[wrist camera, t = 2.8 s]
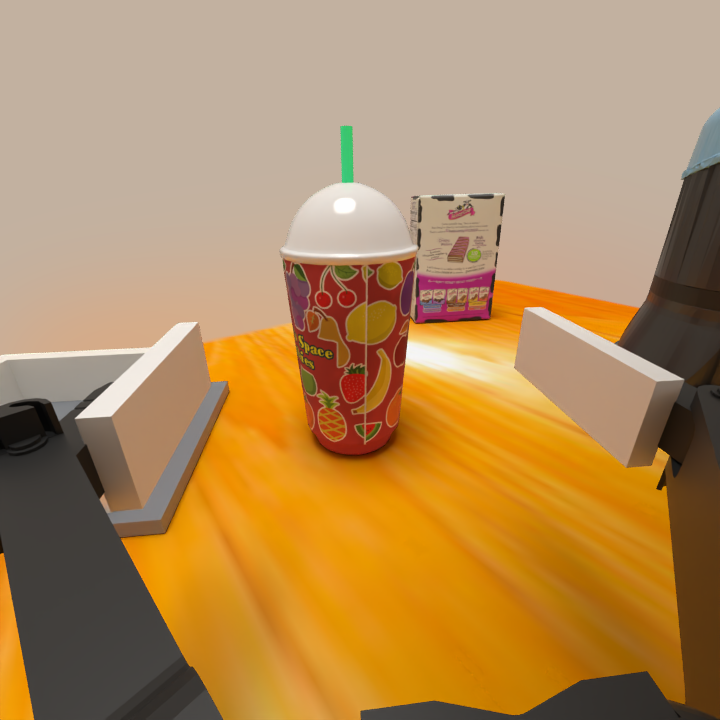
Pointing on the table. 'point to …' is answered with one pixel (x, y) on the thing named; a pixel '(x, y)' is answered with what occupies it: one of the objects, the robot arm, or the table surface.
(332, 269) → the smoothie
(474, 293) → the candy bar box
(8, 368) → the board
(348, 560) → the table surface
